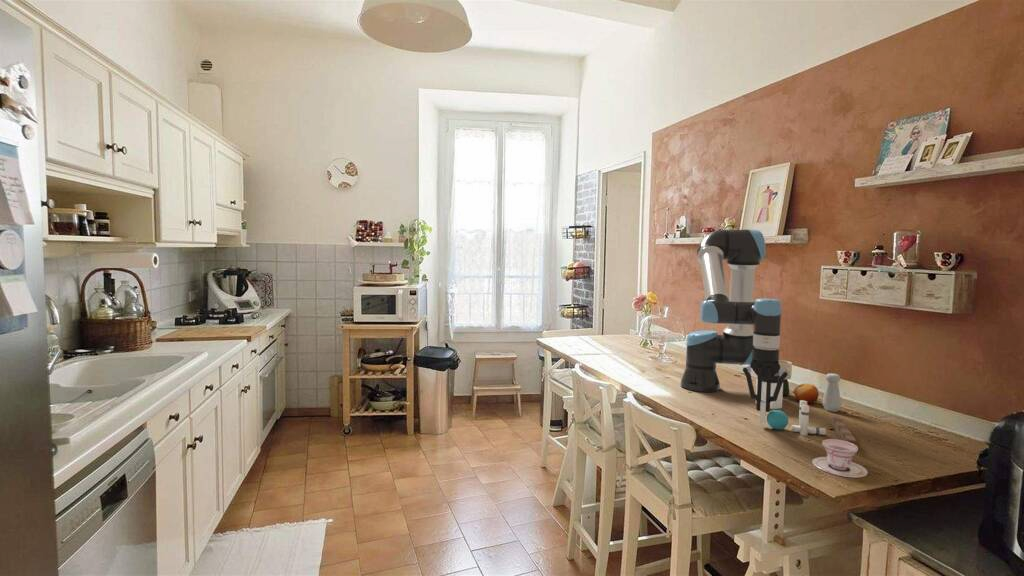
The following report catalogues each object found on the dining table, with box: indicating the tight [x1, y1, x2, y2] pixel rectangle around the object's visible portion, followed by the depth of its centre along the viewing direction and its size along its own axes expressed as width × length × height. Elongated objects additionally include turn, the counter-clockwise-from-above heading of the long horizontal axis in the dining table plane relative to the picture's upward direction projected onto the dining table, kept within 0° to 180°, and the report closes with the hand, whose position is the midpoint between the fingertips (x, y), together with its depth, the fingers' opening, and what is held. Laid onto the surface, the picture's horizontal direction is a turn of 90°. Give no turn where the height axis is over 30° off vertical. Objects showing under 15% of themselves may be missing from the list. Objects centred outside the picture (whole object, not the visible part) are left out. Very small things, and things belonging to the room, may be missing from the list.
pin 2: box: [799, 404, 810, 437], centre depth 153 cm, size 2×2×9 cm
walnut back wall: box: [831, 415, 858, 447], centre depth 151 cm, size 24×2×3 cm, turn 157°
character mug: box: [778, 359, 793, 396], centre depth 197 cm, size 11×7×13 cm, turn 3°
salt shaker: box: [821, 373, 842, 413], centre depth 178 cm, size 6×6×13 cm
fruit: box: [793, 383, 820, 405], centre depth 188 cm, size 8×8×8 cm
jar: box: [755, 372, 784, 410], centre depth 182 cm, size 9×8×12 cm
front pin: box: [790, 424, 827, 436], centre depth 154 cm, size 2×2×9 cm
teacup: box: [811, 438, 869, 479], centre depth 129 cm, size 12×12×6 cm
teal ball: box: [766, 409, 789, 431], centre depth 158 cm, size 6×6×6 cm
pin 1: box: [798, 400, 808, 426], centre depth 157 cm, size 2×2×9 cm
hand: (762, 421), depth 160 cm, fingers closed
